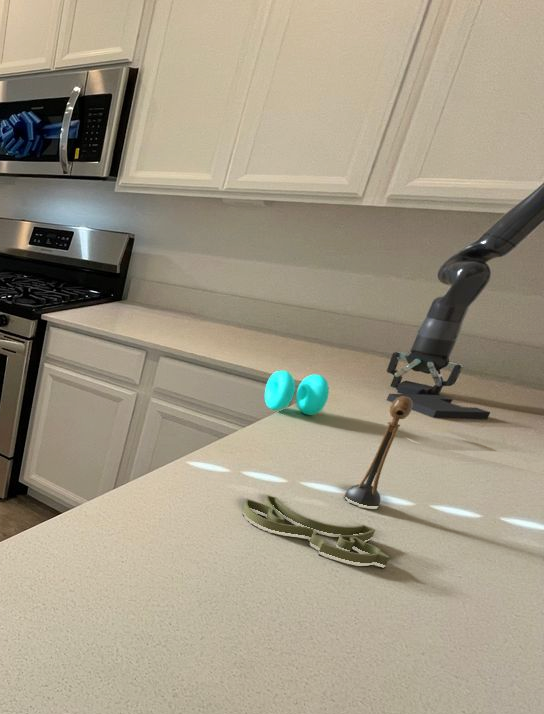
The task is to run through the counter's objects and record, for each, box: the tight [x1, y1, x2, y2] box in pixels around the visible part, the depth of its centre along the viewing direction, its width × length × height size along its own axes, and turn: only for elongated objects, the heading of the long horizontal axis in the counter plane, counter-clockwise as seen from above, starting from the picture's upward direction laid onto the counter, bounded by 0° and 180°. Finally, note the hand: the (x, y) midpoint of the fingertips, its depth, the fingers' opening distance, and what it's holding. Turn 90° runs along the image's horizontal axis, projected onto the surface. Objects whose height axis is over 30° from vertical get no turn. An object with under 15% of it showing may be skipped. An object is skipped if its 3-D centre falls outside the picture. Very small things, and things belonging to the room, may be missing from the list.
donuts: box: [264, 369, 330, 416], centre depth 144 cm, size 10×10×10 cm
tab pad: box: [395, 380, 434, 395], centre depth 160 cm, size 9×6×4 cm, turn 122°
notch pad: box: [386, 393, 491, 420], centre depth 147 cm, size 14×12×4 cm
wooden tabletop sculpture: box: [344, 396, 413, 507], centre depth 98 cm, size 6×5×20 cm
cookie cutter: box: [243, 494, 390, 566], centre depth 91 cm, size 18×12×2 cm, turn 46°
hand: (412, 393), depth 161 cm, fingers open, 7 cm apart
